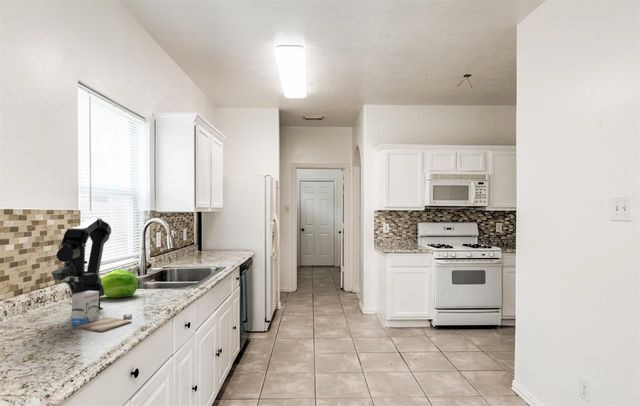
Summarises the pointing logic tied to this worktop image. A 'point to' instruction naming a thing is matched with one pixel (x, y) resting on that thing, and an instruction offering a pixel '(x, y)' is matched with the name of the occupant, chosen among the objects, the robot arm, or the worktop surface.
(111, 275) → the lettuce
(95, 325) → the walnut board
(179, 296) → the worktop surface
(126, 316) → the silver domed disc
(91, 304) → the ink box
